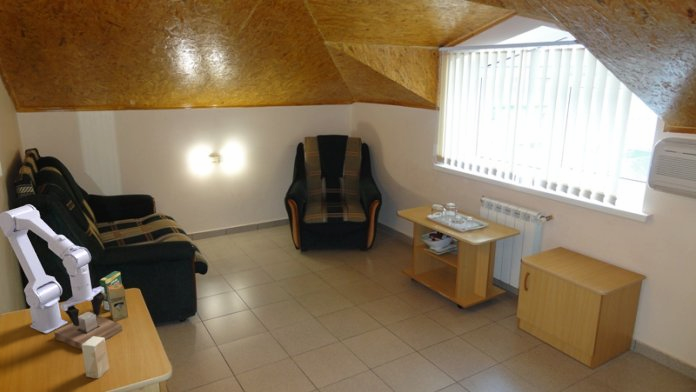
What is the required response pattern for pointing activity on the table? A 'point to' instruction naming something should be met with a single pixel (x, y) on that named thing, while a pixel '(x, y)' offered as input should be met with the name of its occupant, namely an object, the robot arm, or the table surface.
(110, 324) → the socket block
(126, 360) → the table surface
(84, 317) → the peg
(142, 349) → the table surface
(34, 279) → the robot arm
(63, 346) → the table surface
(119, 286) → the shoe polish box
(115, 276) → the coffee box
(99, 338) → the box
